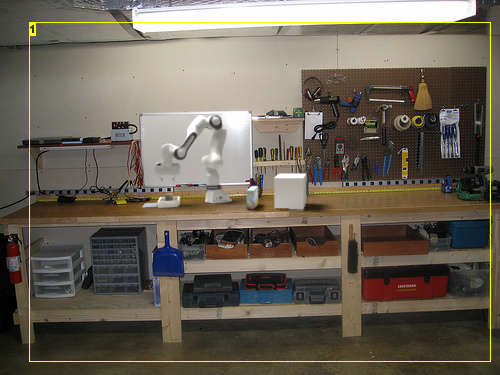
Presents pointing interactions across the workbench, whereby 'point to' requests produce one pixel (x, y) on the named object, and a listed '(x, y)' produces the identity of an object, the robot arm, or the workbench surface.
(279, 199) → the cube
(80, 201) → the workbench surface
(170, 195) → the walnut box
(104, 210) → the workbench surface
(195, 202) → the workbench surface
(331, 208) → the workbench surface
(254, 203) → the snack box
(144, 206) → the rubber mat
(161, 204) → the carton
